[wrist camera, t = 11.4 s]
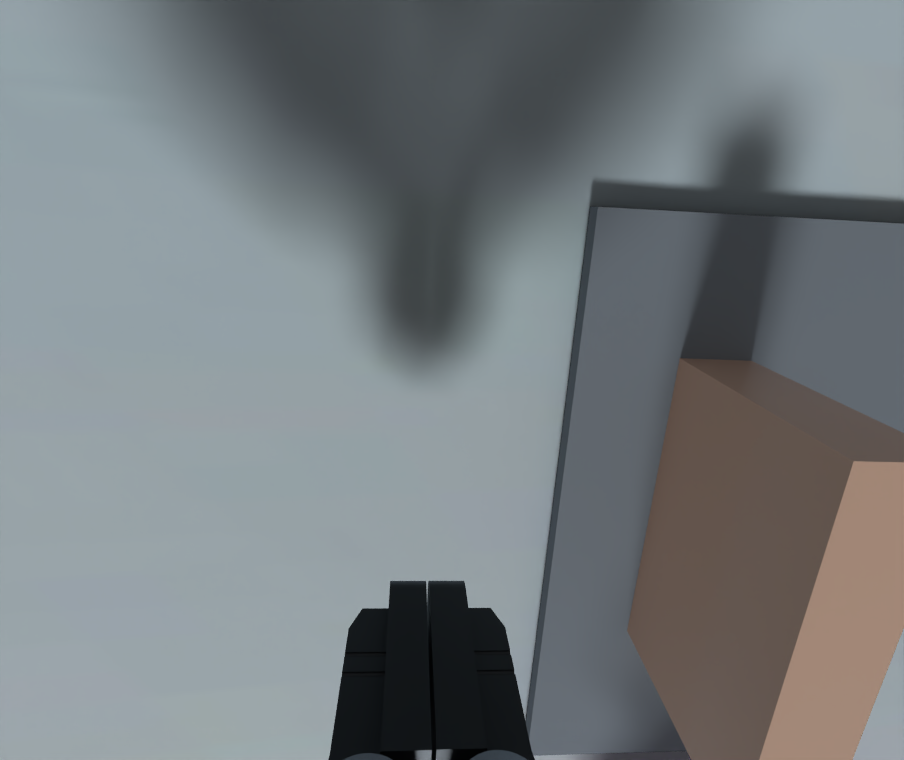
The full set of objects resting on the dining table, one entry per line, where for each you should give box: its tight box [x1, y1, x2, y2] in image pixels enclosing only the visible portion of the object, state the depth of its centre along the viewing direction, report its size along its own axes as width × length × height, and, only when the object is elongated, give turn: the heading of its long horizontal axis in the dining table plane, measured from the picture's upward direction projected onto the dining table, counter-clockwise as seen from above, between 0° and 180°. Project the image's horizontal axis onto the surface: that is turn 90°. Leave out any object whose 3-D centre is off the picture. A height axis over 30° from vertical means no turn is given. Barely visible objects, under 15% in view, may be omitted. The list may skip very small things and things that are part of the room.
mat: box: [526, 207, 904, 755], centre depth 17 cm, size 18×11×1 cm, turn 177°
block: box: [627, 358, 904, 760], centre depth 13 cm, size 9×2×6 cm, turn 177°
